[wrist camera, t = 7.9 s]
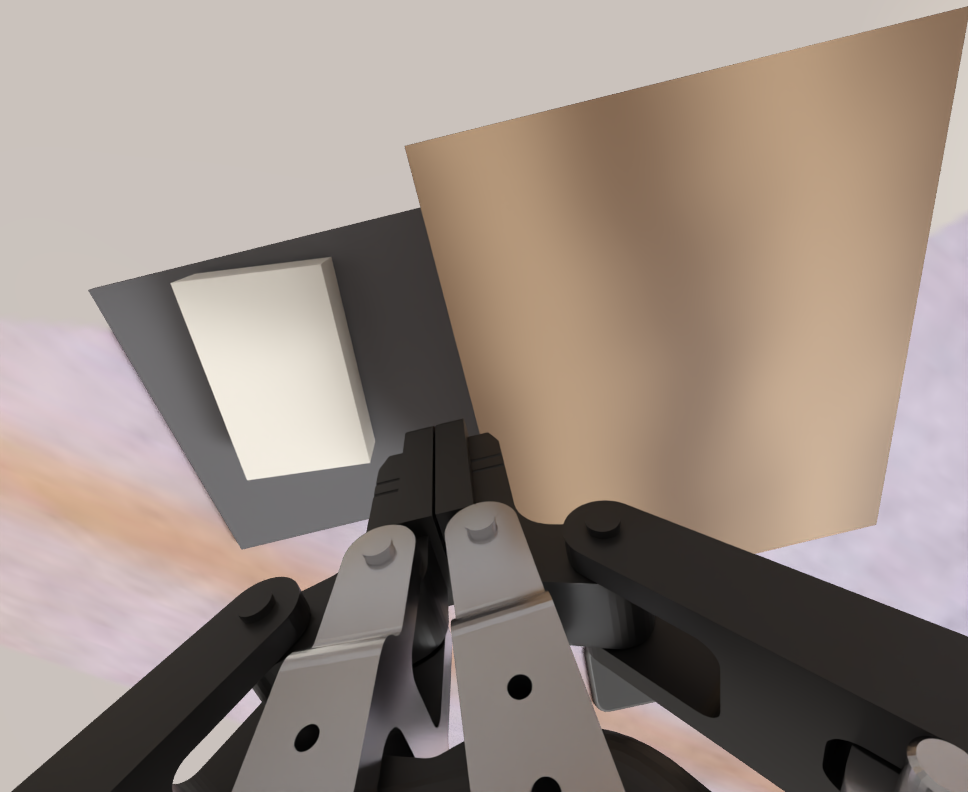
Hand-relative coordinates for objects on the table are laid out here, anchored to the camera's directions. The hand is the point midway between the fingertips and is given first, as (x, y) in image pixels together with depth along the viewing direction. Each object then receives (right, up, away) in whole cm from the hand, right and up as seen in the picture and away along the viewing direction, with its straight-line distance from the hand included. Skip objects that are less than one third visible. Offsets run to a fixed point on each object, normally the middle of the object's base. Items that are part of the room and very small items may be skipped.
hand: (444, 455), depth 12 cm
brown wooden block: (+6, +5, +8) cm, 11 cm away
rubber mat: (-6, +1, +8) cm, 10 cm away
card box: (-7, +2, +5) cm, 9 cm away
